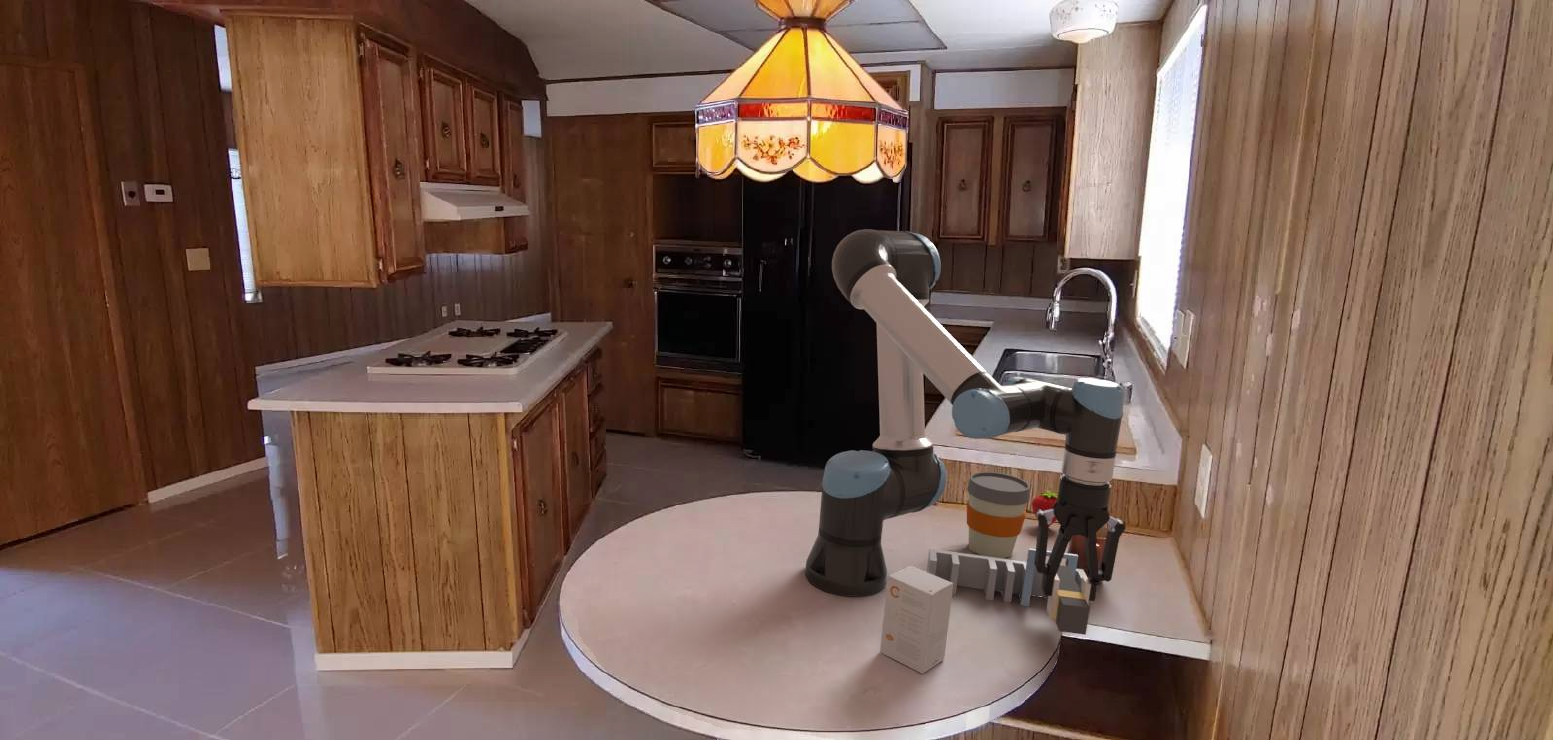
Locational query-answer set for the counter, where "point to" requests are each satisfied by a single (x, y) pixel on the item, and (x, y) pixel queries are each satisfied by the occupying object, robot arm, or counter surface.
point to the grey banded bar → (1069, 604)
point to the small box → (916, 618)
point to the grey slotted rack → (986, 573)
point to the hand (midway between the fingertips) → (1065, 615)
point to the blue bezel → (1031, 567)
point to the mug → (1079, 549)
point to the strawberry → (1045, 502)
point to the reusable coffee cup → (995, 512)
